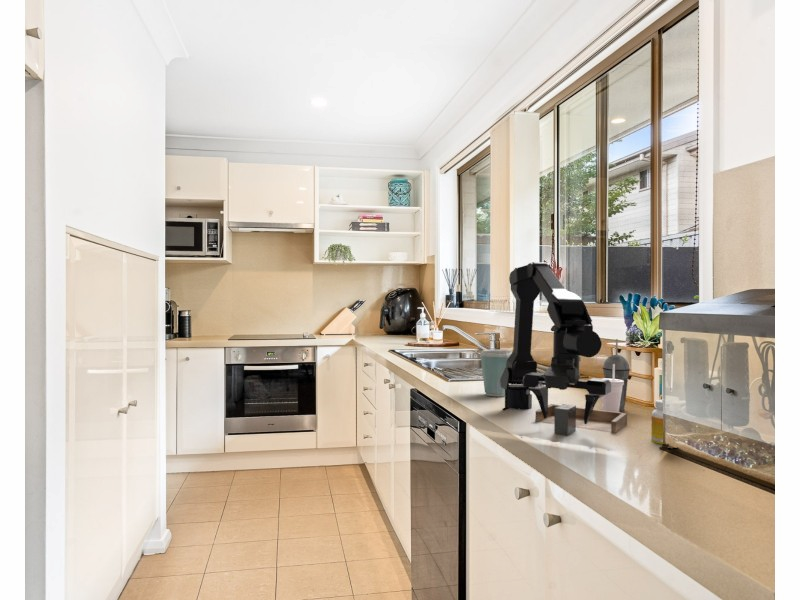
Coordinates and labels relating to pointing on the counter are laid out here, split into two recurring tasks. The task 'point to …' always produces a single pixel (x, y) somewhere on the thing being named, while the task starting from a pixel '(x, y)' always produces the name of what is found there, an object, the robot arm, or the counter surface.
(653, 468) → the counter surface
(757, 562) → the counter surface
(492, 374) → the disposable coffee cup
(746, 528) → the counter surface
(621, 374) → the beverage cup
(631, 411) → the counter surface
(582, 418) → the walnut box
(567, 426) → the cover plate
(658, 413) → the supplement bottle
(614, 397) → the smoothie
